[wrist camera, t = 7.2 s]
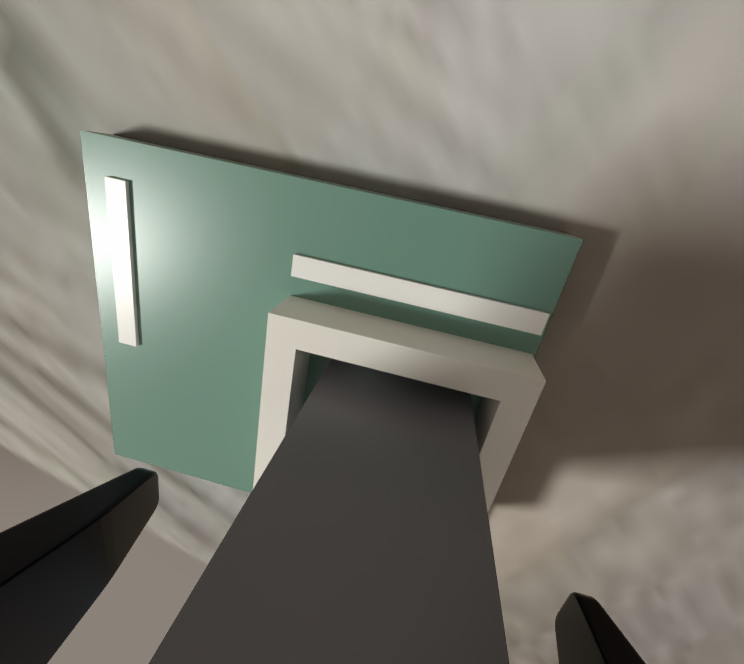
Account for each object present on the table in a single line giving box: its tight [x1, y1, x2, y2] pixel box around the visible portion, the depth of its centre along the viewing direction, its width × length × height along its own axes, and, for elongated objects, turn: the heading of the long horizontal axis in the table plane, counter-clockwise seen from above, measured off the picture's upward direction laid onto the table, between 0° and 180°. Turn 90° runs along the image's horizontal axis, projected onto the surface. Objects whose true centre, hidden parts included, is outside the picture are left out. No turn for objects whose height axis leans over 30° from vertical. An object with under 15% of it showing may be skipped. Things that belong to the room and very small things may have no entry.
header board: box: [80, 130, 583, 512], centre depth 11 cm, size 13×11×2 cm
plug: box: [149, 358, 509, 664], centre depth 8 cm, size 4×4×9 cm
